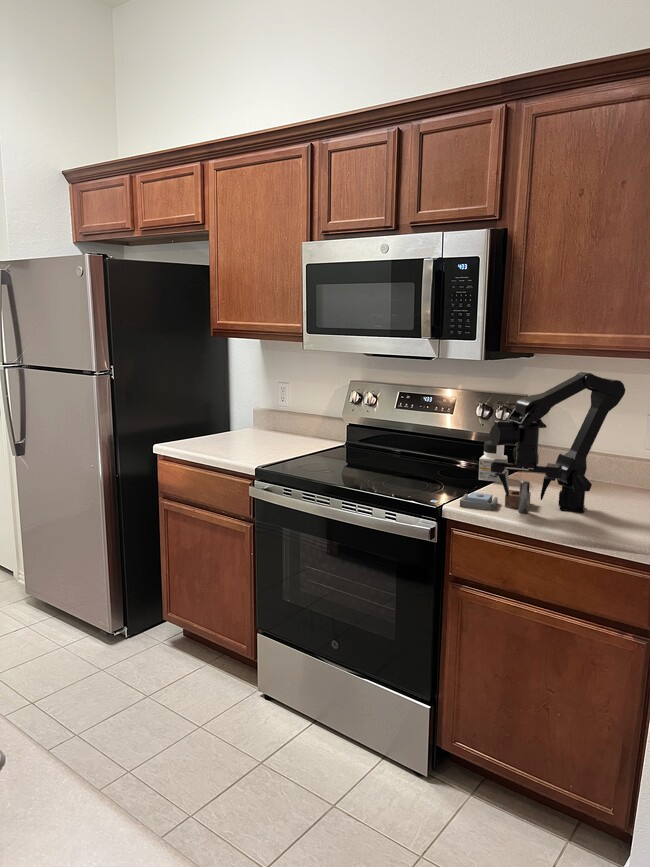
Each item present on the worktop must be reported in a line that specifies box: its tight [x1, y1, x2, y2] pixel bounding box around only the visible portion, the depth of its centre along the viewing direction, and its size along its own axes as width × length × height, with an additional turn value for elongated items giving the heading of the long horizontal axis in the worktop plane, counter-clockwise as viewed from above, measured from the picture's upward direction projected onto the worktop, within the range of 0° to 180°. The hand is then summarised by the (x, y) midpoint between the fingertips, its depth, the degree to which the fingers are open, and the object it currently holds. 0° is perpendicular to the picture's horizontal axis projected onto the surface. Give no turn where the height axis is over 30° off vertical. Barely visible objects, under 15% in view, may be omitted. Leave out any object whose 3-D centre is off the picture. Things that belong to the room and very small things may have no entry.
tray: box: [459, 493, 499, 511], centre depth 194 cm, size 10×8×2 cm
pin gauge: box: [518, 480, 531, 515], centre depth 186 cm, size 3×3×9 cm
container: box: [478, 440, 508, 483], centre depth 223 cm, size 8×8×13 cm
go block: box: [504, 489, 531, 509], centre depth 194 cm, size 6×6×4 cm
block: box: [467, 491, 493, 503], centre depth 194 cm, size 6×6×3 cm
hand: (524, 497), depth 186 cm, fingers open, 9 cm apart
